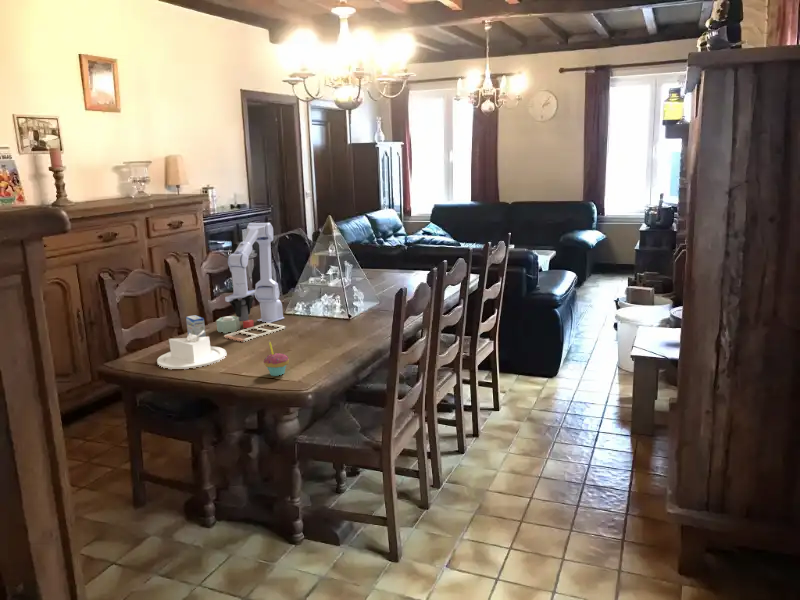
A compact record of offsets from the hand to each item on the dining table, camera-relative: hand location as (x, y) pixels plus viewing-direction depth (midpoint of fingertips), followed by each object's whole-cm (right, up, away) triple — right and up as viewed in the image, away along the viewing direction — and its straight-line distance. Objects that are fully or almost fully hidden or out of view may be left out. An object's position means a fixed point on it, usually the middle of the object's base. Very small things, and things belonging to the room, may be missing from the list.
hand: (243, 315), depth 271 cm
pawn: (0, -2, 0) cm, 2 cm away
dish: (-13, -16, -24) cm, 32 cm away
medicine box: (-20, -9, +4) cm, 23 cm away
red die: (-1, -6, +15) cm, 16 cm away
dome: (-9, -5, +12) cm, 16 cm away
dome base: (-9, -7, +13) cm, 17 cm away
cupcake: (+22, -19, -44) cm, 53 cm away
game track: (+4, -8, +6) cm, 11 cm away
